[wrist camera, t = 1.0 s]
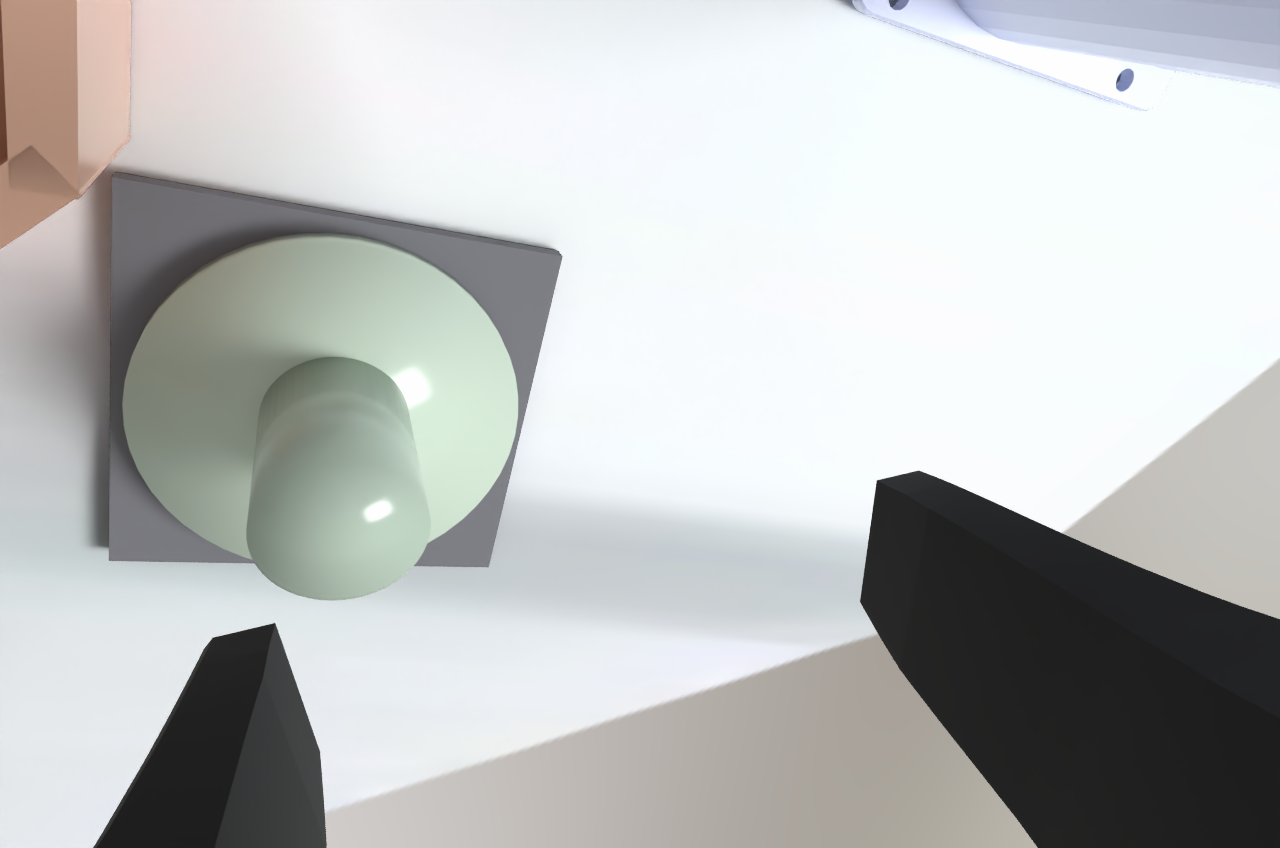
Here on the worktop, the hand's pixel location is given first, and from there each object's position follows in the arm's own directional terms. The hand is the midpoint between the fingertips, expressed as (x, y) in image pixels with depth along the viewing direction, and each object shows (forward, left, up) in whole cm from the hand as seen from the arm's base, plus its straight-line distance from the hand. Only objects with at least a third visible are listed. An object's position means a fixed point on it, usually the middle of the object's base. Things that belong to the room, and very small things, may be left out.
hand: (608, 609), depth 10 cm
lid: (+3, +3, -10) cm, 11 cm away
